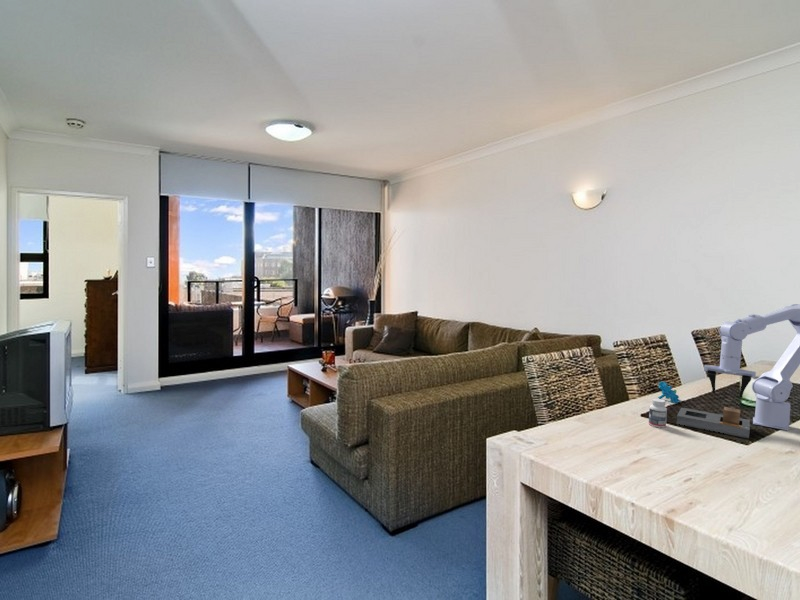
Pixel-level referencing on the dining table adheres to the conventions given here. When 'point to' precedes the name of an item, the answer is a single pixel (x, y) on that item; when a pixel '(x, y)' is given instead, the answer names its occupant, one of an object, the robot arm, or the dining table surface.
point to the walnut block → (731, 415)
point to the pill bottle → (658, 413)
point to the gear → (668, 392)
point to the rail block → (712, 422)
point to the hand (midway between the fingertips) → (727, 394)
